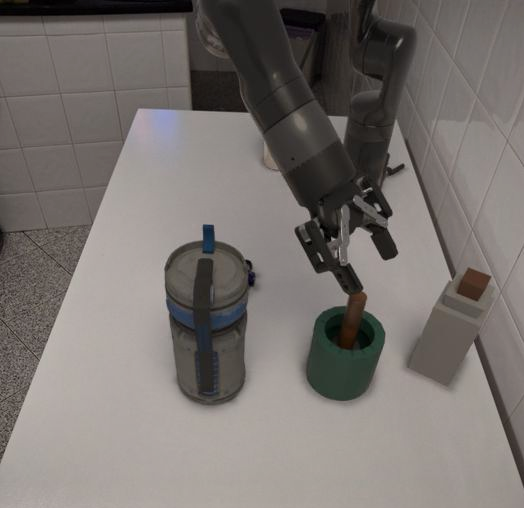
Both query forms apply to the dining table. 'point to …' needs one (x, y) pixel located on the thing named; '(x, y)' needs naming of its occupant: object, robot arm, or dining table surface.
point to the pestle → (351, 322)
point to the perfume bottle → (453, 326)
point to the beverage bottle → (208, 317)
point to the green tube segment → (343, 356)
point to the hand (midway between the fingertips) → (374, 274)
